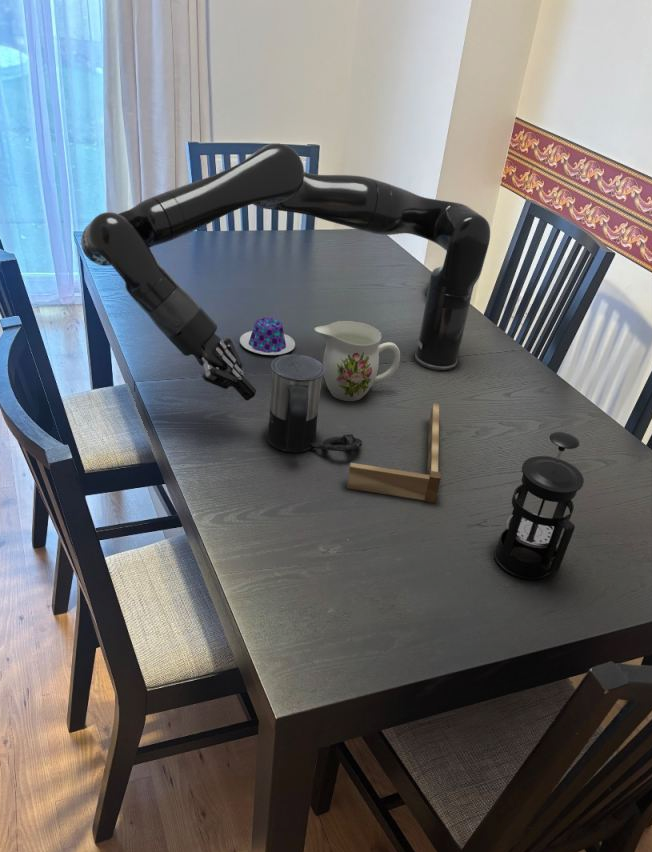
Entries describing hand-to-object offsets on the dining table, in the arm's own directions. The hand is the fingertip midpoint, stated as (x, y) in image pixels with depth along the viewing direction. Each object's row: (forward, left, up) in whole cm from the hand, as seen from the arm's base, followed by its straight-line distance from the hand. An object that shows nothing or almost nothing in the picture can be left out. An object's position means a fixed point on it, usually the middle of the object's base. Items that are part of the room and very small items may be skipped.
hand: (252, 396), depth 138 cm
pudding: (-36, -3, -8) cm, 37 cm away
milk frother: (0, +12, -8) cm, 14 cm away
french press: (+24, +49, -8) cm, 55 cm away
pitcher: (-21, +17, -8) cm, 28 cm away
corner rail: (-1, +27, -8) cm, 28 cm away
